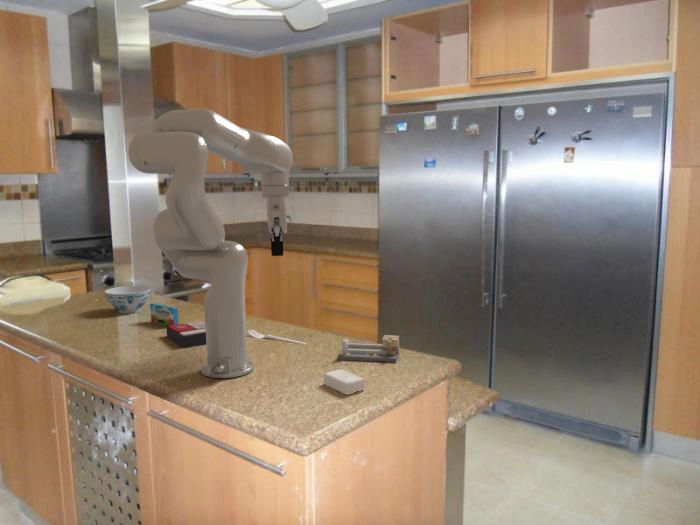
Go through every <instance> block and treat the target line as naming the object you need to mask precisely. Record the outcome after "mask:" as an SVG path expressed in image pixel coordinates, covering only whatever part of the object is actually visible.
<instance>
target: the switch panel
mask: <svg viewBox="0 0 700 525" xmlns="http://www.w3.org/2000/svg"><path fill="white" fill-rule="evenodd" d="M399 354H400V350H399V351H398V353H396V351H392V355H387V351H382V344H373V343H354V342H353V343H349V340H348V339H343V340H341V350H340V351H339V353H338V355H337V360H338V361H339V360H341V361H355V360H357V361H358V360H359V361H360V362H376V361H386V362H385V363H397V362H396V361H398V358H399ZM357 361H356V362H357ZM359 361H358V362H359Z"/></svg>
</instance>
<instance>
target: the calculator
mask: <svg viewBox="0 0 700 525" xmlns="http://www.w3.org/2000/svg"><path fill="white" fill-rule="evenodd" d="M166 337H167V338H168V339H169V340H171V341H172V342H175V343H176V344H177V345H178V346H179V347H181V348H183V349H187V348H192V347H193V346H194V347H198V346H199V347H200V346H204V345H205V346H206V327H205V322H204V321H201V320H200V321H195V322H194V321H193V322H186V323H180V324H179V323H178V325H172V326H167V327H166Z"/></svg>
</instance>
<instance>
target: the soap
mask: <svg viewBox="0 0 700 525" xmlns="http://www.w3.org/2000/svg"><path fill="white" fill-rule="evenodd" d="M365 382H366V381H365V378H364V377H361V376H359V375H357V374H355V373H352V372H350V371H347V370H345V369H342V368H340V369H337V370H331V371H328V372H325V373H324V374H323V385H324V384H326V385H328V386H330V387H332V388H334V389H336V390H338V391H341V392H343V393H351V392H354V391H358V390H361V389H364V388H365V389H366V385H365ZM326 385H325V386H326ZM328 386H327V387H328ZM330 387H329V388H330ZM332 388H331V389H332ZM334 389H333V390H334ZM365 389H364V390H365ZM336 390H335V391H336ZM338 391H337V392H338Z"/></svg>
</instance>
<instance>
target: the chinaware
mask: <svg viewBox="0 0 700 525" xmlns="http://www.w3.org/2000/svg"><path fill="white" fill-rule="evenodd" d="M151 291H152V290H151V287H150V286H144V285H126V286H117V287H112V288H108V289H106V290H105V291H104V294H105V297H106V299H107V300H106V301H108V303H109V304H110V305H111V306H112V307H113V308H114V309H116V310H118V313H120V312H121V313H120V314H134V313H133V312H135V313H138V312H140V309H141V308H142V307H144V305H146V303H147V301H148V300H149V297H150V294H151ZM137 311H138V312H137Z"/></svg>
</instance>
